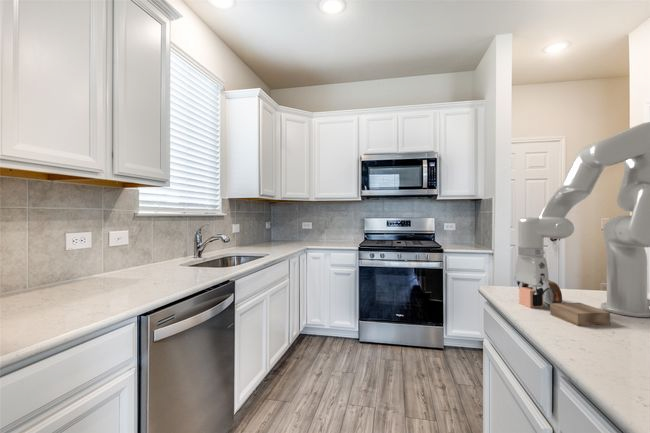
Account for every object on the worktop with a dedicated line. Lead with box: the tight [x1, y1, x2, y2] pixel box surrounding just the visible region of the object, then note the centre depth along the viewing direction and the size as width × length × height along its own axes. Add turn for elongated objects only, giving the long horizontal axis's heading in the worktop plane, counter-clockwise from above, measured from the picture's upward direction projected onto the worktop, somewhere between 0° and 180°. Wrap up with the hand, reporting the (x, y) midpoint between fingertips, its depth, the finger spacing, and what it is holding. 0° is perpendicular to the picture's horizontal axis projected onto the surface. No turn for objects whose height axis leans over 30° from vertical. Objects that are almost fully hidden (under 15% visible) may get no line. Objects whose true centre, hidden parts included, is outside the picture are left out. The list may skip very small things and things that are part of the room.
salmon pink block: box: [518, 286, 544, 309], centre depth 108 cm, size 5×5×6 cm
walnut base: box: [549, 302, 611, 327], centre depth 94 cm, size 10×10×4 cm
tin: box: [537, 279, 563, 307], centre depth 111 cm, size 15×3×8 cm, turn 168°
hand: (530, 302), depth 108 cm, fingers closed on salmon pink block, 4 cm apart
